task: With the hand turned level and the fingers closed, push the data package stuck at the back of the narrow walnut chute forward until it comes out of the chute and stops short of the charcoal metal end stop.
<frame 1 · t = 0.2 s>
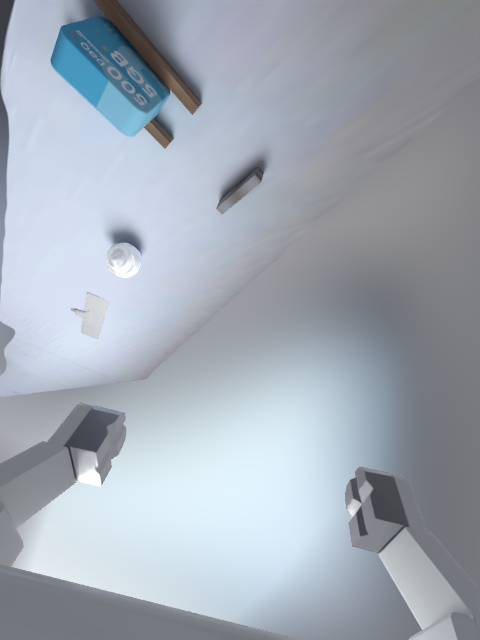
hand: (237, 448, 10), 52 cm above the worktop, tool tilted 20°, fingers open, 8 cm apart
motion sensor: (131, 249, 74), on the worktop
notched beige card: (108, 322, 101), on the worktop
data package: (134, 68, 46), on the worktop
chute: (155, 92, 48), on the worktop
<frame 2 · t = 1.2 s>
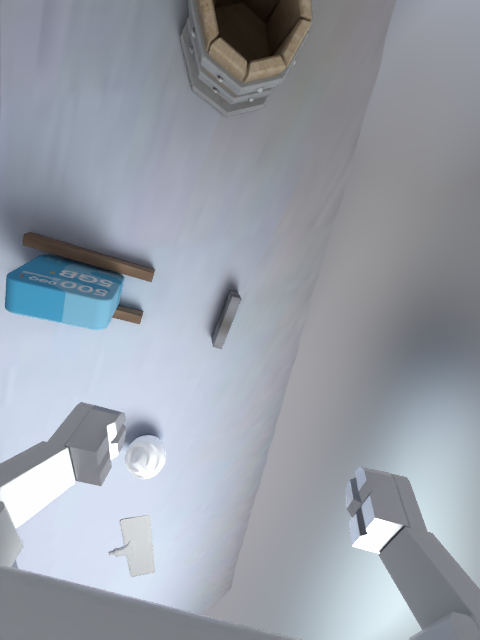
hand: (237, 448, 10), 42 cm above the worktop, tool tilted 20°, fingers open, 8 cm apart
tankard: (247, 26, 39), on the worktop
motion sensor: (148, 440, 65), on the worktop
notched beige card: (157, 542, 80), on the worktop
data package: (84, 277, 48), on the worktop
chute: (110, 285, 49), on the worktop
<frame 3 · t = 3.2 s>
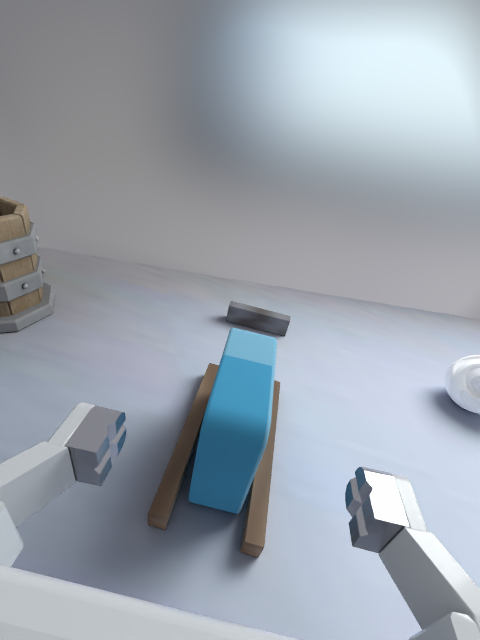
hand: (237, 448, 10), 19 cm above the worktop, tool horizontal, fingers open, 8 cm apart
motion sensor: (461, 403, 45), on the worktop
data package: (224, 453, 31), on the worktop
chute: (232, 420, 34), on the worktop
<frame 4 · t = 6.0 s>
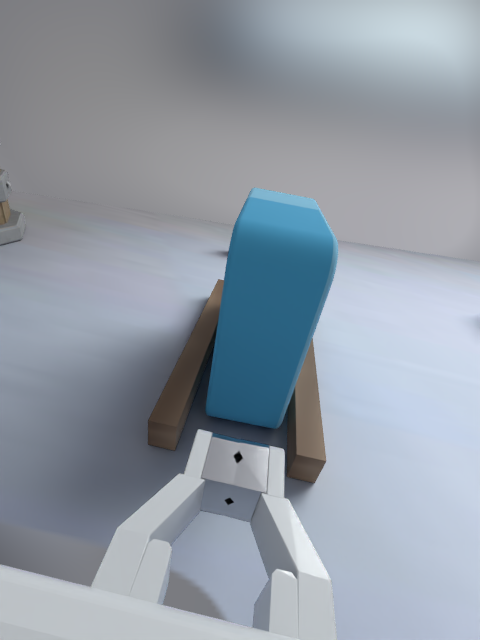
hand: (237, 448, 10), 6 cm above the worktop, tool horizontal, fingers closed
data package: (247, 370, 23), on the worktop
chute: (253, 338, 27), on the worktop
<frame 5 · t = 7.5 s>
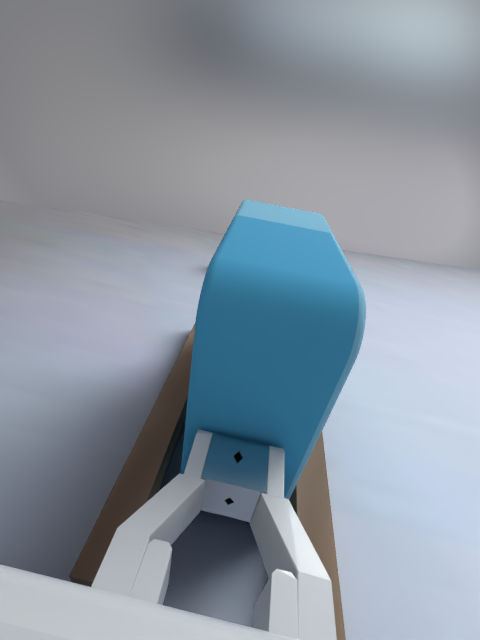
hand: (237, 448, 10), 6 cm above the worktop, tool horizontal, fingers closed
data package: (238, 423, 19), on the worktop, touching gripper
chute: (242, 390, 21), on the worktop
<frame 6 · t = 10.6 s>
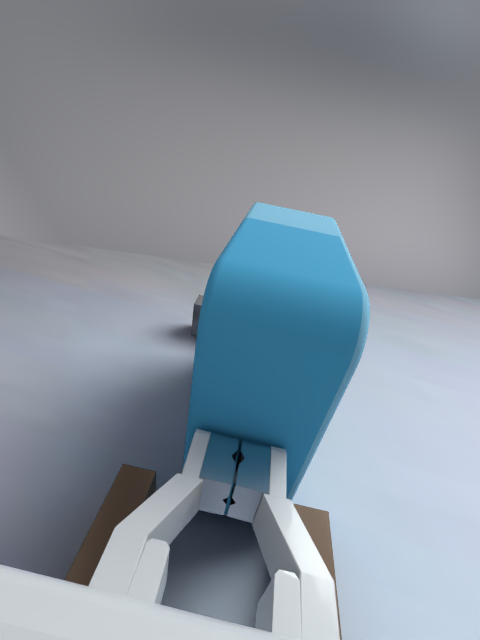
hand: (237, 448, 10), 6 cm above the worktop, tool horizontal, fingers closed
data package: (243, 425, 19), on the worktop, touching gripper
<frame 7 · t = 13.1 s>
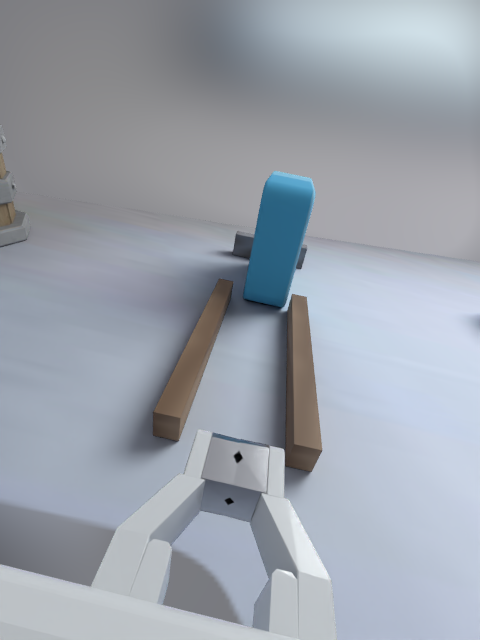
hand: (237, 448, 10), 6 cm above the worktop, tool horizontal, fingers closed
data package: (266, 286, 37), on the worktop
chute: (253, 335, 27), on the worktop
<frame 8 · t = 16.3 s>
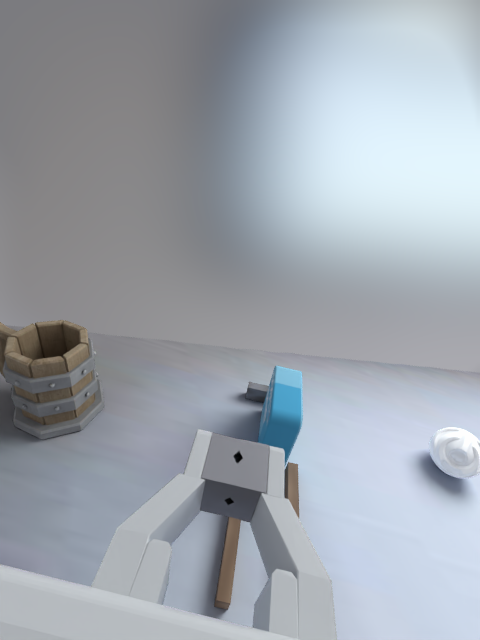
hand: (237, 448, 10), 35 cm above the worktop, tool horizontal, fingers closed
tankard: (45, 398, 52), on the worktop
motion sensor: (443, 465, 54), on the worktop
data package: (270, 438, 53), on the worktop
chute: (263, 503, 43), on the worktop
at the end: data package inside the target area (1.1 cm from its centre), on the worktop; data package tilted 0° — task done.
